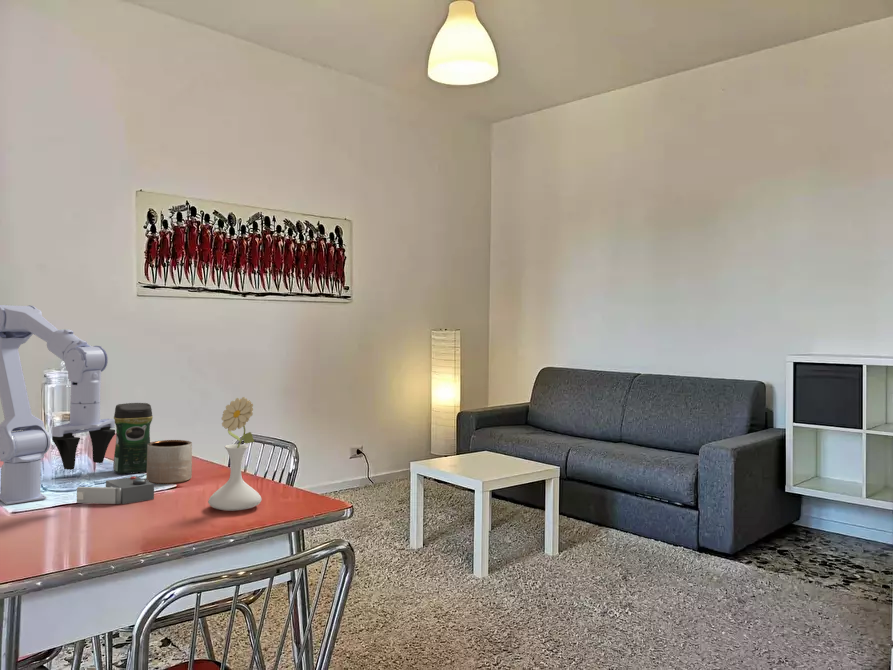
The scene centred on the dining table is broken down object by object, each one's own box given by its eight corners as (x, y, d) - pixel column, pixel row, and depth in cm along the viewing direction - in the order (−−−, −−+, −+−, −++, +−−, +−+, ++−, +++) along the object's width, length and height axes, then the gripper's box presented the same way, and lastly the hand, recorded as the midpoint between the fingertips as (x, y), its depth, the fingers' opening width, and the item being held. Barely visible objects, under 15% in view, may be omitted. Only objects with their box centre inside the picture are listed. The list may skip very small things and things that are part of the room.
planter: (192, 483, 175) (193, 445, 175) (145, 486, 171) (146, 447, 171) (191, 474, 185) (191, 439, 185) (147, 476, 181) (147, 440, 181)
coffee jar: (148, 467, 193) (150, 400, 193) (154, 472, 186) (155, 403, 186) (110, 470, 188) (112, 402, 188) (114, 475, 181) (116, 405, 181)
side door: (75, 503, 153) (75, 488, 153) (78, 501, 154) (79, 486, 154) (118, 504, 153) (119, 489, 153) (121, 502, 154) (121, 487, 154)
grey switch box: (105, 495, 161) (105, 477, 161) (136, 491, 166) (136, 473, 166) (122, 504, 154) (122, 485, 154) (153, 499, 159) (154, 480, 159)
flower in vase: (200, 506, 154) (202, 394, 153) (248, 499, 161) (251, 392, 161) (223, 519, 144) (225, 400, 143) (273, 511, 151) (276, 397, 151)
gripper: (71, 407, 140) (69, 474, 140) (126, 400, 153) (124, 461, 154) (45, 404, 142) (43, 470, 142) (101, 398, 156) (99, 458, 156)
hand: (83, 465), depth 148 cm, fingers open, 7 cm apart
